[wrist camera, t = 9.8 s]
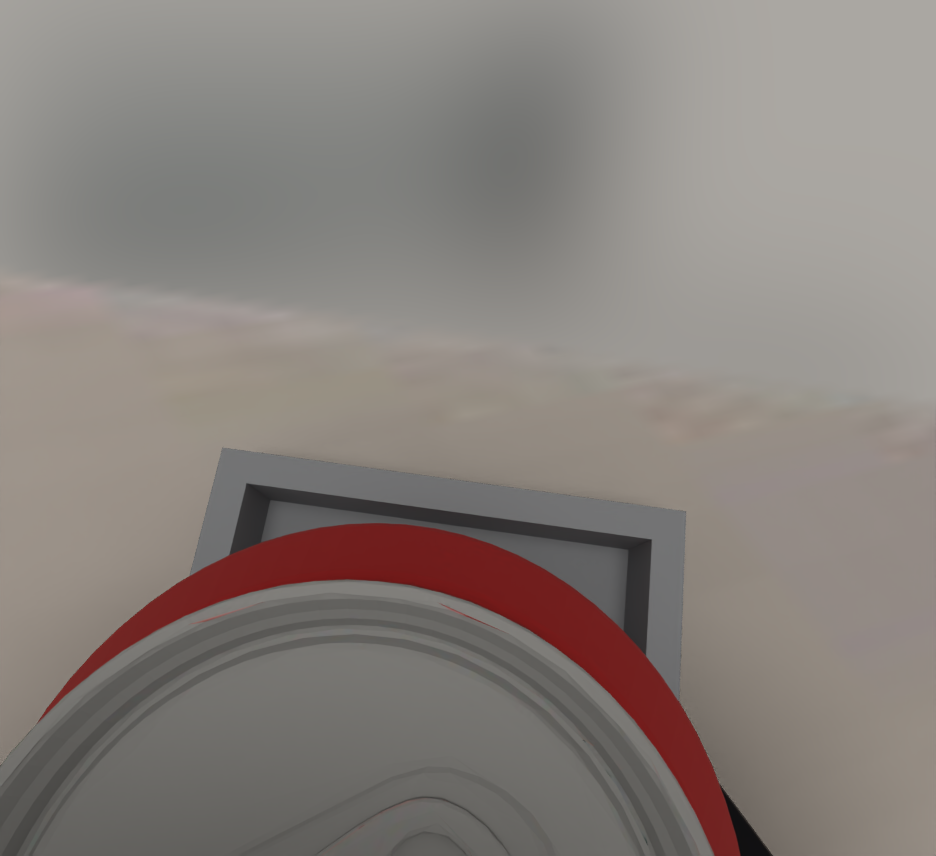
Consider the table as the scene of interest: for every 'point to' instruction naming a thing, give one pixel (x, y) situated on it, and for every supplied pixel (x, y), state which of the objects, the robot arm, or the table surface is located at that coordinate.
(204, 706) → the beverage can
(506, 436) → the table surface
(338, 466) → the coaster tray
